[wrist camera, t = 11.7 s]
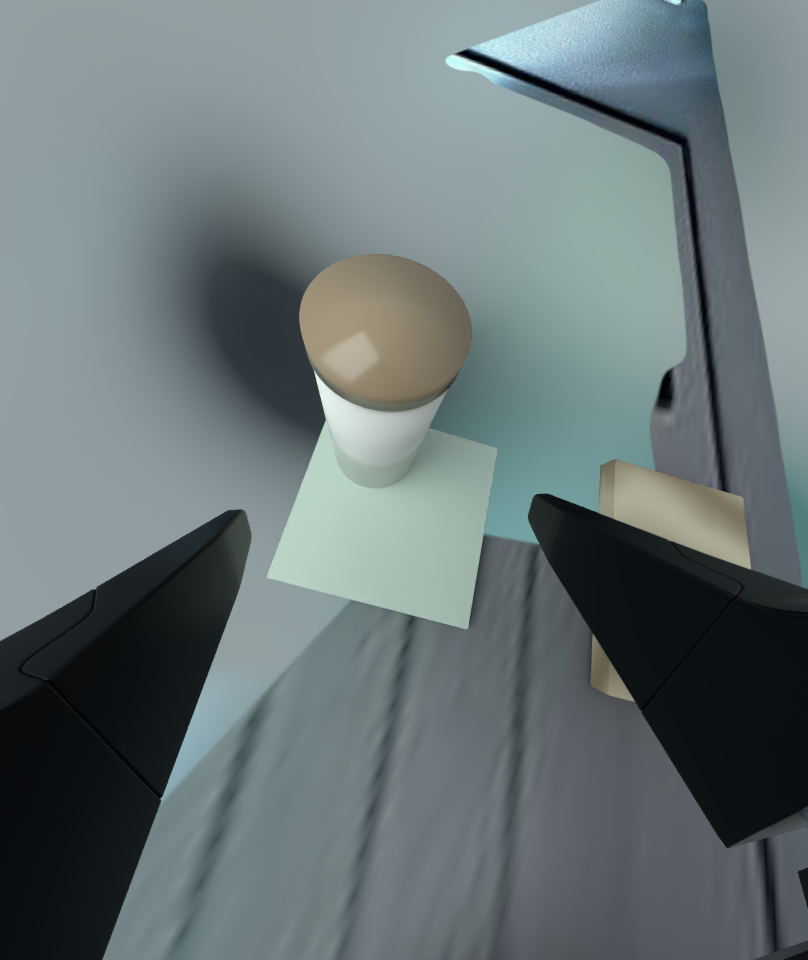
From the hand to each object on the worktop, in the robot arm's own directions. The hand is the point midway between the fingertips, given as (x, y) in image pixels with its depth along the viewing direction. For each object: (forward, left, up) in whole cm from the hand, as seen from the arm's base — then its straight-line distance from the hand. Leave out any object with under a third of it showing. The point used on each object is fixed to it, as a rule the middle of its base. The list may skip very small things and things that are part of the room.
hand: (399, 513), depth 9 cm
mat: (+3, 0, -12) cm, 12 cm away
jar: (+6, +2, -11) cm, 13 cm away
